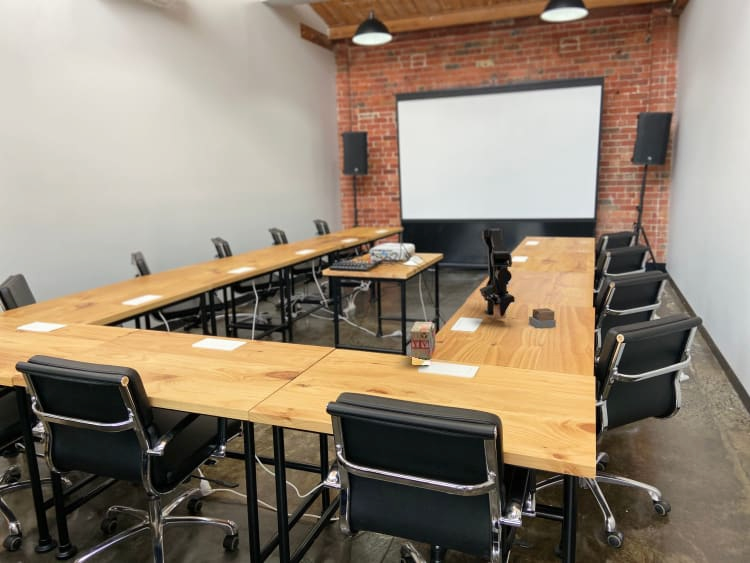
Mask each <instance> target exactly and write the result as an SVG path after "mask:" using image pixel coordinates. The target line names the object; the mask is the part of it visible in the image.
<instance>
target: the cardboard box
mask: <svg viewBox="0 0 750 563" xmlns="http://www.w3.org/2000/svg"><path fill="white" fill-rule="evenodd" d="M435 324H436V323H433V321H415V322H414V324H413V326H412V328H411V330H410V351H411V352H410V358H411V357H415V358H418V359H422V360H430V359H432V360H433V355H434V352H435V349H436V328H435V327H436V325H435Z"/></svg>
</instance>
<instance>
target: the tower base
mask: <svg viewBox="0 0 750 563" xmlns="http://www.w3.org/2000/svg"><path fill="white" fill-rule="evenodd" d="M556 323H557V321H556V319H554V320H545V321H539V320H537V319H535V318H533V316H529V317H528V325H530V324H531V325H530V326H532V327H533V326H534V327H533V328H535V329H537V328H540V329H552V328H554V327H555V328H556V327H557V326H556Z"/></svg>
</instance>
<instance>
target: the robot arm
mask: <svg viewBox="0 0 750 563" xmlns="http://www.w3.org/2000/svg"><path fill="white" fill-rule="evenodd" d="M502 238H503V232H502V229H501V227H500V228H499V227H489V228H488V229H484V230H482V233H481V239H482V240H483V245H484V246H485V248H486V249H487V263H488V264H487V267H488V281H486V282H487V283H486V285H485V286H484V287H481V288H479V292H480V294H481V297H483V300H484V301H487V303H486V305H487V307H486V310H484V313H486V314H487V315H494V305H497V304H499V308H500V315H501V316H504V314H505V312H506V313H507V311H508V310H507V309H508V308H509V307H510V305H511V303H515V302H516V301H515V298H516V297H515V296H514V295H512V294H510V293H509V291H508V285H509V282H510V281H511V280H512V277H513V276H512V273H511V271H510V270H509V268H512V265H513V259H512V255H511V253H510V251H509V249H508V247H507V246H504V243H503V239H502Z"/></svg>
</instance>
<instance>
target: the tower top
mask: <svg viewBox="0 0 750 563" xmlns="http://www.w3.org/2000/svg"><path fill="white" fill-rule="evenodd" d="M532 317H533V318H535V319H537V320H539V321H545V320H555V311H554V310H552V309H550V308H548V307H544V308H543V307H542V308H532Z"/></svg>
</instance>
